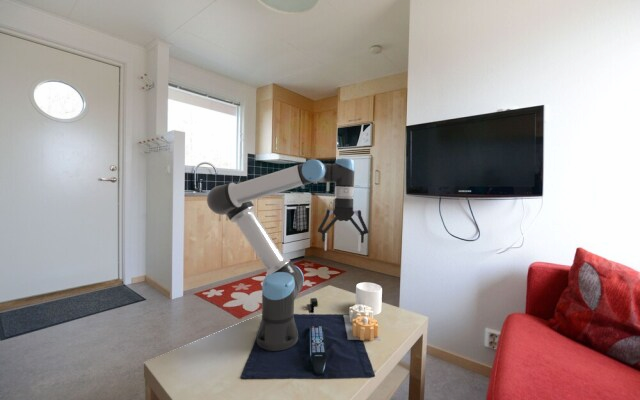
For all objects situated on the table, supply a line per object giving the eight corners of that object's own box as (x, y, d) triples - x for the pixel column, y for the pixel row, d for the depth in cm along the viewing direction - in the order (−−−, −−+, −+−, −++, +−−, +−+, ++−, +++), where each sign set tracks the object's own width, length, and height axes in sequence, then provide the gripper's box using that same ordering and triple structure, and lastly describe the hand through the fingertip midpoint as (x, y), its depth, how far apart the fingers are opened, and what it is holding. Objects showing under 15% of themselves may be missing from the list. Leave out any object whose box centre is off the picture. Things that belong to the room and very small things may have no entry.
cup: (379, 307, 129) (380, 283, 129) (382, 319, 118) (383, 292, 117) (354, 305, 130) (355, 281, 130) (355, 317, 119) (356, 290, 118)
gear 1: (350, 325, 108) (351, 313, 108) (348, 314, 118) (348, 303, 118) (374, 326, 108) (375, 313, 108) (370, 314, 118) (370, 303, 118)
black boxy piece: (304, 303, 132) (304, 294, 132) (319, 303, 134) (319, 294, 133) (308, 315, 120) (308, 305, 120) (324, 314, 121) (324, 304, 121)
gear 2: (354, 340, 98) (354, 327, 98) (351, 326, 107) (351, 314, 107) (380, 341, 98) (380, 327, 98) (375, 327, 107) (375, 315, 107)
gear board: (347, 343, 98) (348, 323, 98) (343, 318, 117) (343, 301, 117) (380, 344, 98) (381, 324, 98) (370, 319, 117) (371, 302, 117)
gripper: (312, 197, 104) (311, 251, 105) (377, 198, 104) (375, 253, 105) (313, 196, 111) (311, 247, 112) (373, 198, 111) (371, 248, 112)
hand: (342, 250), depth 109 cm, fingers open, 13 cm apart
